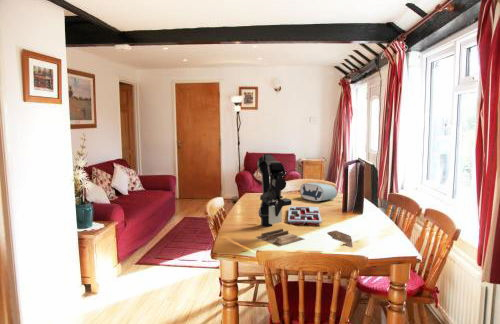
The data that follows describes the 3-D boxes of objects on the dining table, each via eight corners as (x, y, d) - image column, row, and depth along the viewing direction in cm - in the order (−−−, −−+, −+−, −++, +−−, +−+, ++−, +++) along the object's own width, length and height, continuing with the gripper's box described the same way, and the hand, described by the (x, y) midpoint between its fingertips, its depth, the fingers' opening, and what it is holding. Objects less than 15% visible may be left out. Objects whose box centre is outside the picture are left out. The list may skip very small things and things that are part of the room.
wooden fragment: (325, 231, 199) (325, 229, 199) (345, 231, 199) (345, 229, 199) (338, 248, 174) (338, 246, 174) (360, 248, 174) (360, 245, 174)
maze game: (321, 226, 208) (321, 221, 208) (287, 225, 211) (287, 220, 210) (318, 211, 243) (318, 207, 242) (288, 210, 245) (288, 206, 245)
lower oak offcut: (275, 241, 179) (275, 239, 178) (292, 237, 186) (292, 235, 186) (281, 244, 175) (281, 242, 174) (299, 239, 182) (299, 237, 182)
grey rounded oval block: (299, 198, 280) (300, 182, 279) (314, 196, 293) (315, 180, 292) (322, 203, 264) (323, 186, 263) (337, 200, 277) (338, 184, 276)
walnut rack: (255, 238, 186) (255, 233, 186) (281, 232, 197) (281, 226, 197) (278, 248, 172) (278, 242, 172) (305, 241, 183) (305, 235, 182)
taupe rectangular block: (268, 223, 185) (268, 206, 184) (278, 221, 190) (279, 204, 189) (271, 224, 184) (271, 207, 183) (281, 222, 188) (281, 205, 187)
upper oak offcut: (276, 239, 178) (276, 237, 178) (291, 235, 184) (291, 233, 184) (281, 241, 175) (282, 239, 175) (296, 237, 181) (296, 235, 181)
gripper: (252, 185, 187) (252, 214, 189) (275, 191, 172) (275, 222, 174) (268, 183, 194) (268, 211, 196) (292, 188, 179) (292, 218, 181)
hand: (275, 215), depth 186 cm, fingers closed on taupe rectangular block, 2 cm apart
